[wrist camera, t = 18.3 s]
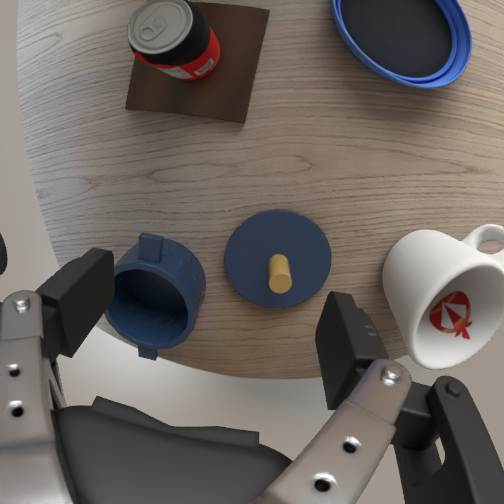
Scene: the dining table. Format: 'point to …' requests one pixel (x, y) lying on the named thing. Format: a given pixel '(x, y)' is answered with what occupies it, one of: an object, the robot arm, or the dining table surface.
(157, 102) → the trivet
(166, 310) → the pot
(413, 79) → the bowl
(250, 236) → the pot lid
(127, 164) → the dining table surface
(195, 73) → the beverage can
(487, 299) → the cup
